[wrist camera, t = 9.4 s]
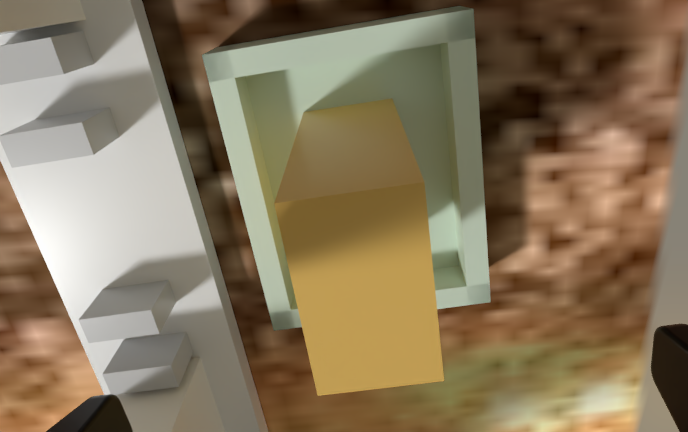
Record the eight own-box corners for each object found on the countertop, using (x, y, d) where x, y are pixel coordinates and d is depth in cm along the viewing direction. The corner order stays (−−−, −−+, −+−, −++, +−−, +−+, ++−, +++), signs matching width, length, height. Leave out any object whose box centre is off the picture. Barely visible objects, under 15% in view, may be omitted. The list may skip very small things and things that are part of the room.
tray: (478, 273, 21) (490, 302, 19) (279, 300, 22) (273, 330, 20) (459, 5, 17) (473, 8, 15) (217, 47, 18) (201, 54, 16)
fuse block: (273, 449, 25) (264, 507, 22) (150, 463, 25) (126, 522, 23) (70, -244, 14) (5, -296, 12) (-134, -200, 15) (-243, -241, 12)
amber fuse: (407, 232, 20) (444, 381, 12) (328, 242, 20) (317, 396, 13) (392, 98, 18) (424, 181, 10) (303, 112, 18) (273, 203, 11)
